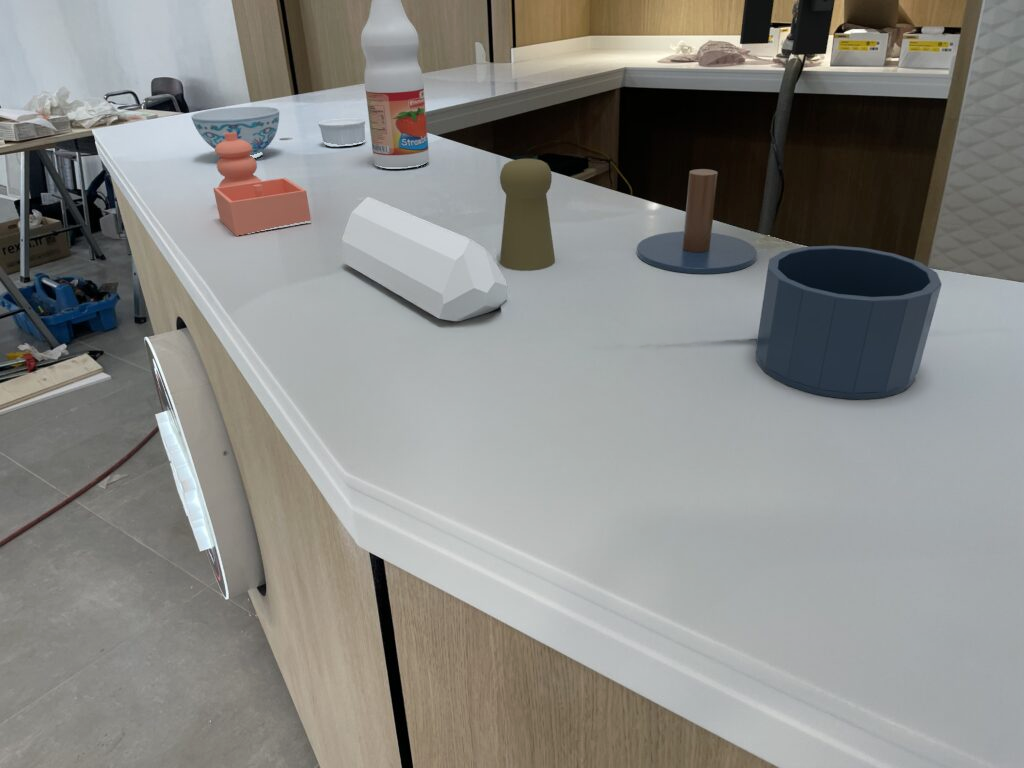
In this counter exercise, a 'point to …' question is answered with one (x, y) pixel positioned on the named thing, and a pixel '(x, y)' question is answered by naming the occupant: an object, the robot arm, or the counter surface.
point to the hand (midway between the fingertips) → (778, 49)
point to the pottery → (254, 192)
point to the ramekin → (343, 130)
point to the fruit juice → (394, 87)
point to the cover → (698, 237)
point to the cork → (526, 216)
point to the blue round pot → (845, 320)
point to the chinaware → (239, 125)
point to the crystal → (423, 262)
